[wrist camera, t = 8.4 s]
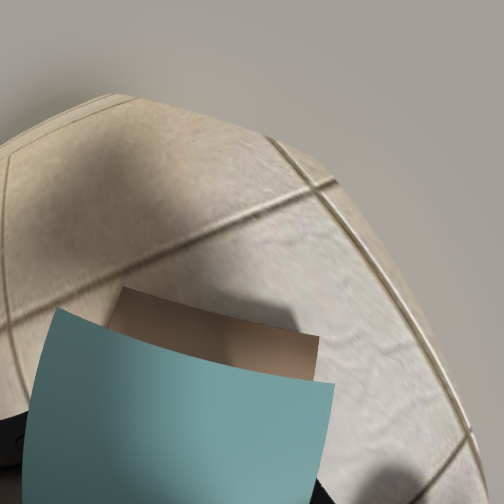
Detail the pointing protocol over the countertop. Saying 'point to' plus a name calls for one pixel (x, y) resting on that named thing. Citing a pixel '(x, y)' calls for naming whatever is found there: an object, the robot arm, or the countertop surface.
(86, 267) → the countertop surface
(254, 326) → the walnut base
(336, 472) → the countertop surface
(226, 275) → the countertop surface
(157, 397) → the teal block
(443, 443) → the countertop surface
